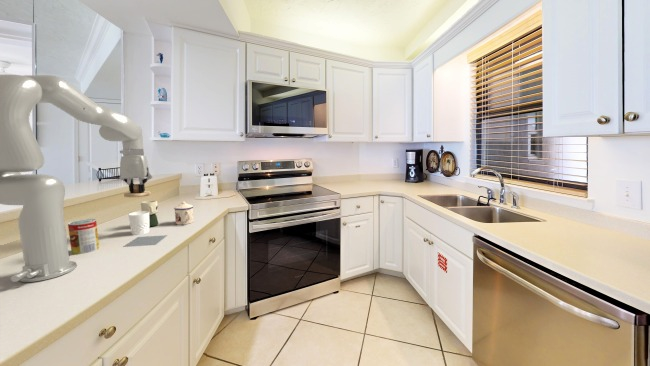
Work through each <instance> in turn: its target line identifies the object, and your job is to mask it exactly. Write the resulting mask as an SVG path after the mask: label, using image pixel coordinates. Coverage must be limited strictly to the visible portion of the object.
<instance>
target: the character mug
mask: <svg viewBox="0 0 650 366" xmlns="http://www.w3.org/2000/svg"><path fill="white" fill-rule="evenodd" d="M158 205H159V204H158V200H144V201H141V202H140V208H141V209H140V210H141V211H148V212H149V220H150V221H149V223H150V227H153V226H158V225H159V221H158V217H157V216H158V215H157V213H159V206H158Z"/></svg>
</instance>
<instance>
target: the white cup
mask: <svg viewBox="0 0 650 366" xmlns="http://www.w3.org/2000/svg"><path fill="white" fill-rule="evenodd" d="M128 221H129V226H130V230H131V235H133V236H138V235H139V236H140V235H145V234H148V233H150V227H151V226H150V223H149V221H150V220H149V212H148V211H134V212H130V213H128Z"/></svg>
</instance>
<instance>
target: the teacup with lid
mask: <svg viewBox="0 0 650 366" xmlns="http://www.w3.org/2000/svg"><path fill="white" fill-rule="evenodd" d="M173 210H174V217H175V224H176V225H180V226H184V225H190V224H192V223H194V221H195V219H194V206H193V205H192V204H188V203H186V201H181V203H179V204H177V205H176V206H174V208H173Z"/></svg>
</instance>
